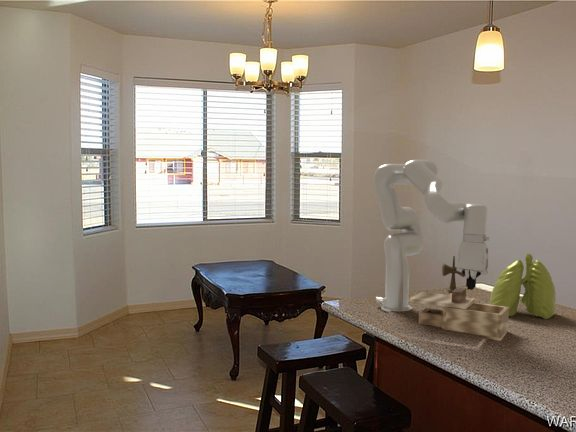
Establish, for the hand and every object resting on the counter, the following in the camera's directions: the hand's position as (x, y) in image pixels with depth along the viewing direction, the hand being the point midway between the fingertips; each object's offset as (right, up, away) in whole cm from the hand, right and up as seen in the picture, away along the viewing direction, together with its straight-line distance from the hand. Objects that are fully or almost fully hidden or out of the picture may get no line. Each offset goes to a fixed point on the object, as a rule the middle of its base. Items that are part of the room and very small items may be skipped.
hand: (470, 288), depth 207 cm
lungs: (+29, -14, +27) cm, 42 cm away
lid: (-9, -5, +6) cm, 12 cm away
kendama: (+7, -11, +47) cm, 49 cm away
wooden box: (-2, -15, +3) cm, 15 cm away
